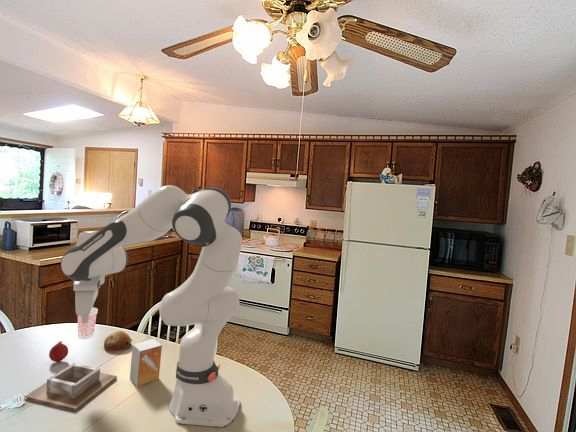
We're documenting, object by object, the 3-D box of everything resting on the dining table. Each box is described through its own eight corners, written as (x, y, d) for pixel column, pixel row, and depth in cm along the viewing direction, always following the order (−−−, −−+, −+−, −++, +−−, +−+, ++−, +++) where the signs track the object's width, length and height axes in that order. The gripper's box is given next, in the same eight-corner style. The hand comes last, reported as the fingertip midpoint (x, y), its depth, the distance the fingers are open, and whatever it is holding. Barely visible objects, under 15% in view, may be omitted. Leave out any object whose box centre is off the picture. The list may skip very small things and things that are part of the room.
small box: (136, 387, 111) (139, 351, 110) (129, 379, 115) (132, 344, 114) (159, 379, 117) (162, 344, 116) (151, 371, 121) (154, 338, 120)
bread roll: (118, 347, 142) (112, 330, 142) (138, 341, 141) (132, 324, 141) (102, 358, 133) (96, 340, 133) (123, 352, 131) (117, 333, 131)
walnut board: (116, 378, 115) (117, 365, 114) (75, 411, 97) (76, 395, 97) (72, 369, 118) (73, 355, 117) (24, 399, 100) (25, 383, 99)
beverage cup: (76, 342, 105) (79, 300, 104) (73, 334, 109) (76, 294, 108) (98, 337, 109) (101, 297, 108) (94, 330, 113) (96, 292, 112)
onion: (57, 367, 117) (58, 346, 117) (44, 364, 118) (45, 343, 118) (71, 360, 123) (72, 339, 123) (58, 356, 124) (59, 336, 124)
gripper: (84, 269, 116) (81, 307, 117) (72, 287, 97) (69, 331, 98) (104, 269, 118) (101, 306, 119) (96, 287, 100) (93, 330, 101)
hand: (87, 318), depth 108 cm, fingers closed on beverage cup, 6 cm apart
